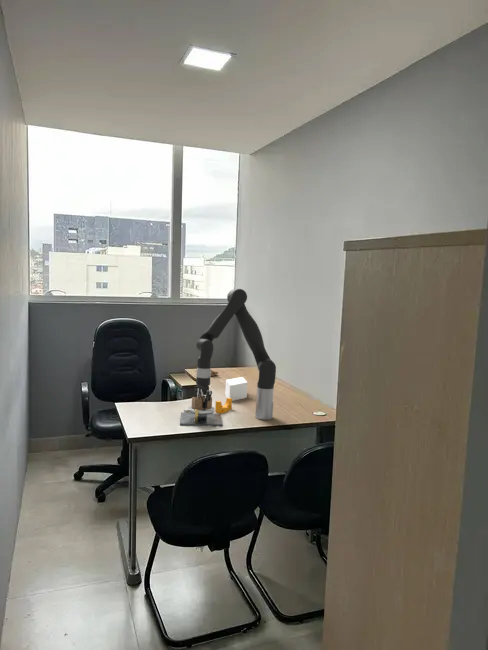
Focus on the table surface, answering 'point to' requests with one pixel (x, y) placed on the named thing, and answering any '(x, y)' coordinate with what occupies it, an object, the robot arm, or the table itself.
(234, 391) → the white block
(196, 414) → the dowel pin
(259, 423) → the table surface
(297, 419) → the table surface
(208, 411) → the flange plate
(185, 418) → the post base
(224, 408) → the pipe clamp
